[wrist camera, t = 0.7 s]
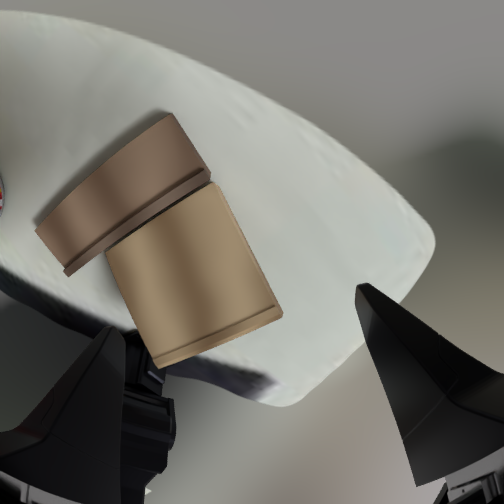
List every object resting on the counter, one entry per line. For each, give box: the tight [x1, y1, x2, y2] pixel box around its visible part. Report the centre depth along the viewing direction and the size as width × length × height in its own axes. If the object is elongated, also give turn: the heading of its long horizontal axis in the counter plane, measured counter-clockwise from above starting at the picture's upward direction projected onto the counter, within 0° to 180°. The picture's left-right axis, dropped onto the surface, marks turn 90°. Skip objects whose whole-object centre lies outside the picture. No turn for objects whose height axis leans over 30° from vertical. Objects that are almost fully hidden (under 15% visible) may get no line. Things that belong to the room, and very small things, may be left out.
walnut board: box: [35, 114, 211, 277], centre depth 20 cm, size 16×6×2 cm, turn 119°
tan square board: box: [105, 182, 283, 369], centre depth 21 cm, size 11×11×2 cm
